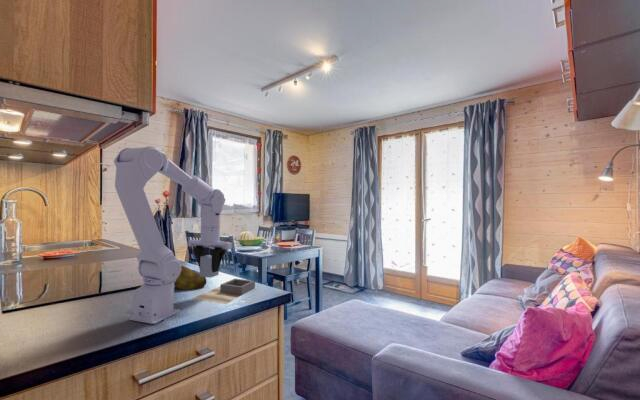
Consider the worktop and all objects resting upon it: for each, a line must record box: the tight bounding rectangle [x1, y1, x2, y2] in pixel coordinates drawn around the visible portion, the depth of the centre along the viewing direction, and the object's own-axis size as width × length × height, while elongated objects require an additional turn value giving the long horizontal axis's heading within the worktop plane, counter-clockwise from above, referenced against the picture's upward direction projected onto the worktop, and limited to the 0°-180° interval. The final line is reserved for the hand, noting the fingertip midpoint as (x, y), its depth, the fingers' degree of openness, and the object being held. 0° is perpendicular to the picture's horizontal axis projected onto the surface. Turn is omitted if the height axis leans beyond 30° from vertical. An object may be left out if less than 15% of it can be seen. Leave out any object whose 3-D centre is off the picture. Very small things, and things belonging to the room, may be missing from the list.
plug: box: [199, 254, 220, 278], centre depth 100 cm, size 4×4×6 cm
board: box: [191, 286, 256, 305], centre depth 103 cm, size 18×12×1 cm, turn 163°
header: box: [219, 278, 256, 296], centre depth 107 cm, size 9×8×2 cm
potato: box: [174, 265, 207, 291], centre depth 108 cm, size 8×13×8 cm, turn 81°
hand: (209, 270), depth 99 cm, fingers closed on plug, 4 cm apart
